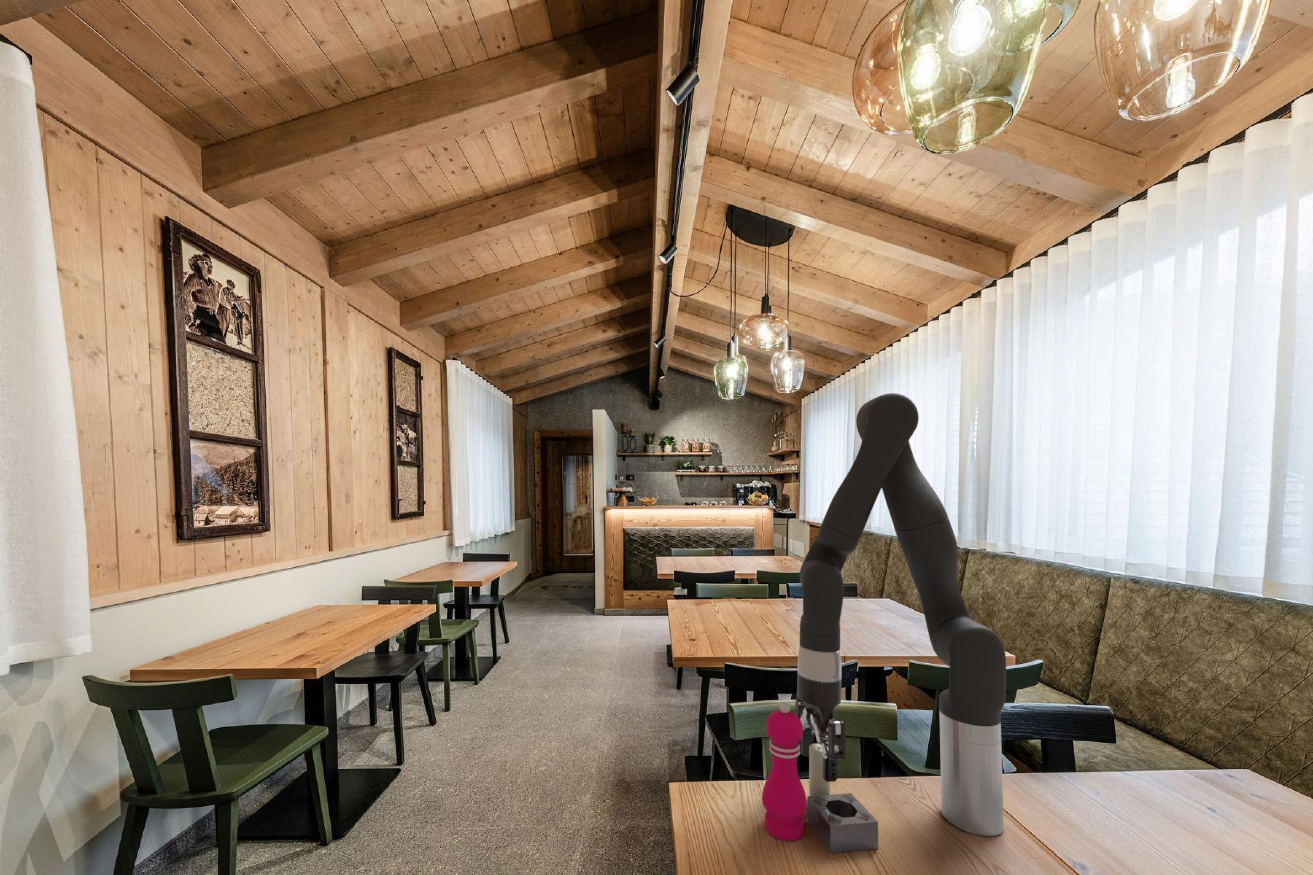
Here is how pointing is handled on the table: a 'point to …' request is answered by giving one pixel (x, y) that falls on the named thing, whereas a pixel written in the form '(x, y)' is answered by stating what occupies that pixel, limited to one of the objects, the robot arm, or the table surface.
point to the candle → (817, 772)
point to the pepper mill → (784, 777)
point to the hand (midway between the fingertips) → (817, 767)
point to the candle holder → (842, 823)
